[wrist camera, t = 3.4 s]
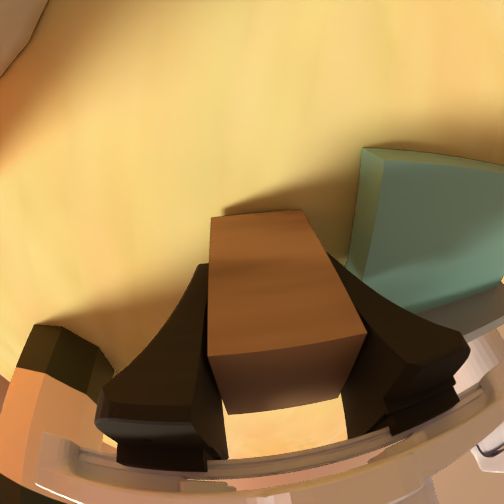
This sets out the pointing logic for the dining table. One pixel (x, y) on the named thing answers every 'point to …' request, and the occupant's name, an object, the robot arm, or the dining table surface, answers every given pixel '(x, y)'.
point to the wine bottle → (48, 407)
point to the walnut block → (277, 314)
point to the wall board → (432, 236)
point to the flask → (17, 27)
